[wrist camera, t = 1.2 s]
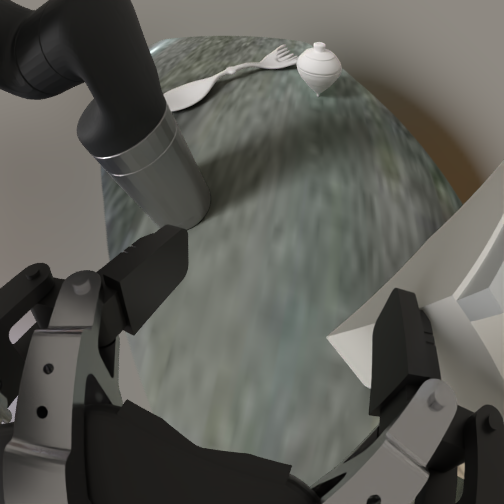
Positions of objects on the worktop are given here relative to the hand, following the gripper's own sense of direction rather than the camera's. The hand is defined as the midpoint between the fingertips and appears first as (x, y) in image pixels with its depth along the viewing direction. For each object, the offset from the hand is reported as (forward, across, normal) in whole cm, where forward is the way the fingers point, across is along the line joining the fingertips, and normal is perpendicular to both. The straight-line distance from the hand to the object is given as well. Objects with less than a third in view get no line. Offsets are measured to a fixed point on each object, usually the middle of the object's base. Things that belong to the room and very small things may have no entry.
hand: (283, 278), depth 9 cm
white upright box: (+19, -14, +14) cm, 28 cm away
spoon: (+48, +23, -9) cm, 54 cm away
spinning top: (+46, +4, -8) cm, 47 cm away
